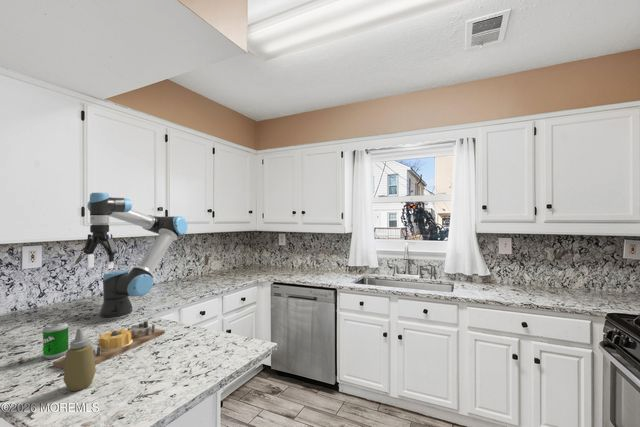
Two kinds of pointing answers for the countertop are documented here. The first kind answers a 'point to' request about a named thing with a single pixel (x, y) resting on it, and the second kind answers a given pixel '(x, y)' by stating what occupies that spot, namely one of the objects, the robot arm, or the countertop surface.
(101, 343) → the ochre gear
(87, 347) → the squeeze bottle
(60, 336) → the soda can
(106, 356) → the gear board
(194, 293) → the countertop surface
